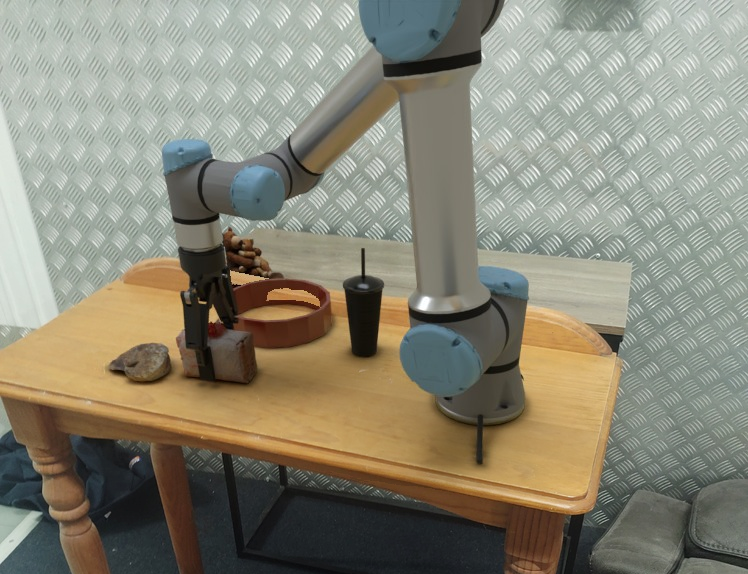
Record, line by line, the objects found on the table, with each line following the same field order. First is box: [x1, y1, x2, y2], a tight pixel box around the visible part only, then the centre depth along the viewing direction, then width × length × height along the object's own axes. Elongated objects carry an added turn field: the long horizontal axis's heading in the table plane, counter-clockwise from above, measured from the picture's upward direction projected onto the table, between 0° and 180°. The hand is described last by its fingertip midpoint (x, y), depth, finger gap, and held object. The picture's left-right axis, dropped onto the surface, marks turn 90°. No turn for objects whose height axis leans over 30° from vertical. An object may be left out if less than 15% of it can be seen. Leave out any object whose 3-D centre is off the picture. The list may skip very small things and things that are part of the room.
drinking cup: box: [342, 247, 385, 358], centre depth 133 cm, size 8×8×20 cm
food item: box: [175, 317, 258, 384], centre depth 129 cm, size 14×8×10 cm, turn 75°
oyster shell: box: [108, 342, 172, 382], centre depth 132 cm, size 10×12×5 cm
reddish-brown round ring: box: [230, 277, 333, 349], centre depth 147 cm, size 22×22×6 cm
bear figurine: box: [222, 226, 285, 279], centre depth 164 cm, size 14×15×12 cm
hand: (219, 367), depth 132 cm, fingers open, 8 cm apart
